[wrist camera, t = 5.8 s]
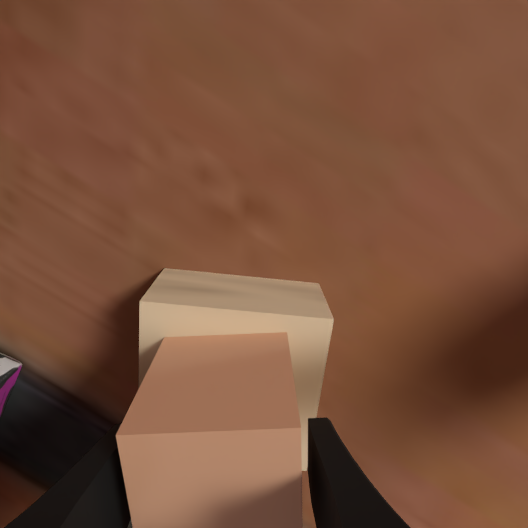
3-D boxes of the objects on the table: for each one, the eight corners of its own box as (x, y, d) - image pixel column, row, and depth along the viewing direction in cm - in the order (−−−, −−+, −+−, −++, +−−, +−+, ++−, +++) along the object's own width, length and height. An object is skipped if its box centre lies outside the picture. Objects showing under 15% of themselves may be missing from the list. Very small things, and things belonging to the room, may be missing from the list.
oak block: (297, 407, 20) (306, 470, 16) (161, 396, 20) (137, 457, 16) (317, 281, 18) (333, 319, 14) (165, 266, 17) (139, 301, 14)
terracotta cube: (289, 433, 15) (303, 562, 11) (177, 437, 15) (140, 569, 11) (286, 331, 14) (301, 427, 9) (164, 337, 14) (115, 435, 9)
